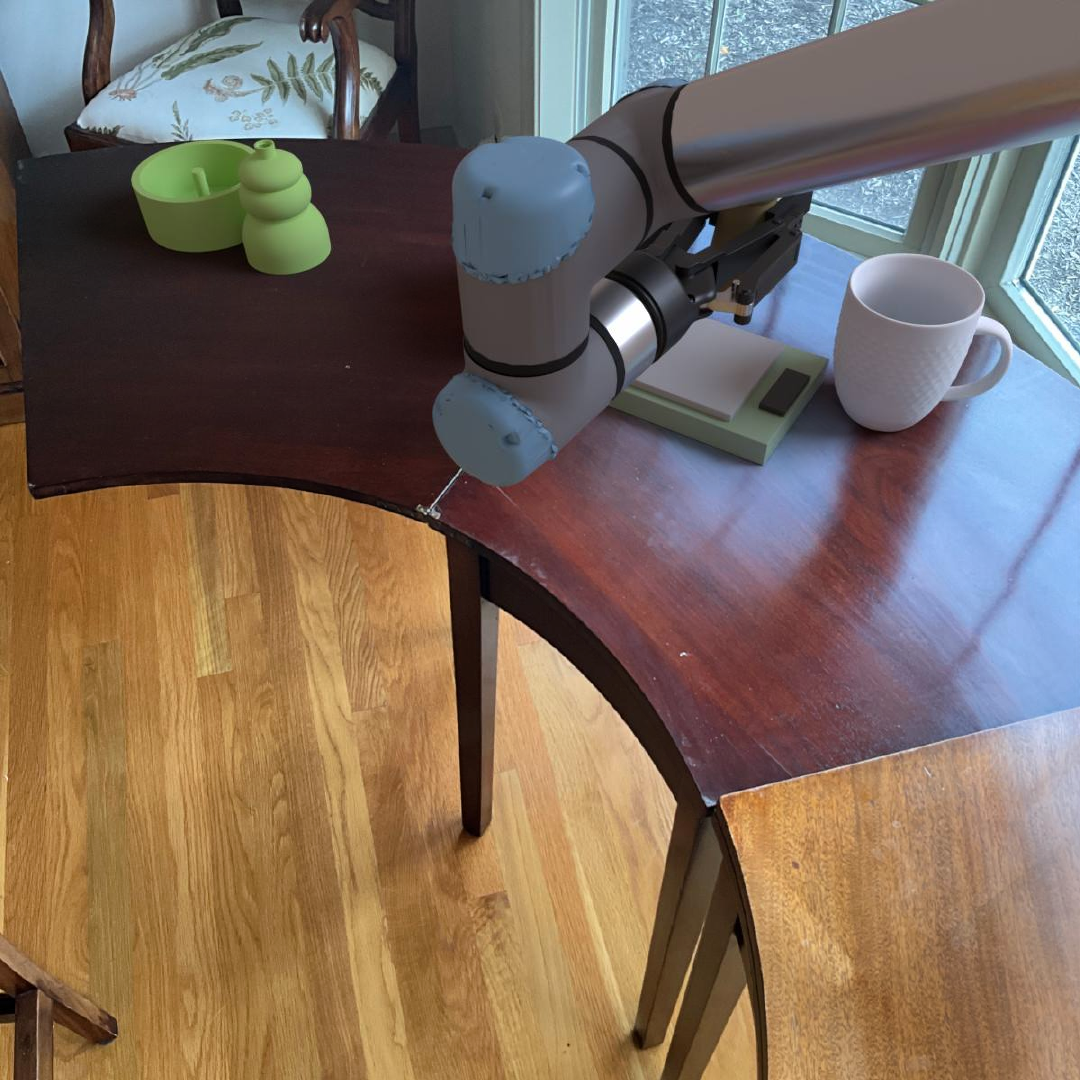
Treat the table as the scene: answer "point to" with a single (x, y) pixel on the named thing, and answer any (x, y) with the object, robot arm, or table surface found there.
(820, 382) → the scale
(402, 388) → the table surface
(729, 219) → the olive pawn piece
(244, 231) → the green pot and lid
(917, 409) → the mug
